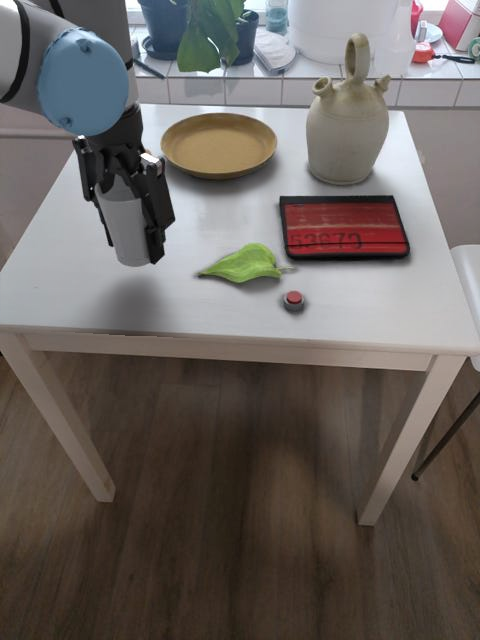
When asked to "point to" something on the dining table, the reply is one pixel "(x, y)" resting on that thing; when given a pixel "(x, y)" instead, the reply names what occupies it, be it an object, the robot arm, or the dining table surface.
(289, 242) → the notebook
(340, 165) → the jug
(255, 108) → the dining table surface
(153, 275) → the dining table surface
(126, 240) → the cup
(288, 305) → the push button
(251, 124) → the plant saucer
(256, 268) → the leaf
